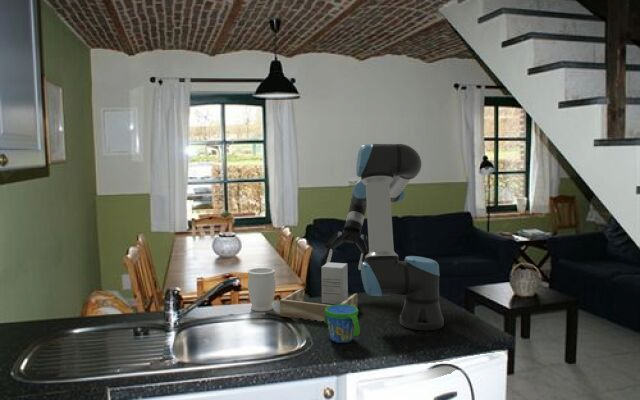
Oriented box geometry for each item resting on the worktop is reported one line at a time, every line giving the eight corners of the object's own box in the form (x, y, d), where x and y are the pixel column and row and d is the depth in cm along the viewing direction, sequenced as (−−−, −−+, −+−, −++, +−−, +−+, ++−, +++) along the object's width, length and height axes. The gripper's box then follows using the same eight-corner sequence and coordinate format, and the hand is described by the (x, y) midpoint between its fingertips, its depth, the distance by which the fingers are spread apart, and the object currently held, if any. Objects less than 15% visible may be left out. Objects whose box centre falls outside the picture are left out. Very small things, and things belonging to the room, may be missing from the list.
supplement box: (327, 297, 215) (327, 261, 213) (348, 298, 212) (348, 263, 211) (320, 303, 206) (320, 266, 205) (342, 305, 203) (342, 267, 202)
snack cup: (369, 344, 161) (369, 312, 160) (340, 350, 156) (340, 318, 155) (342, 329, 175) (342, 300, 174) (315, 335, 169) (315, 305, 169)
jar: (243, 311, 196) (242, 272, 195) (254, 303, 206) (254, 266, 205) (269, 313, 193) (269, 274, 192) (279, 306, 203) (279, 268, 201)
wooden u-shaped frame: (301, 302, 207) (301, 287, 207) (357, 309, 198) (357, 293, 197) (280, 316, 190) (279, 300, 190) (339, 323, 181) (339, 307, 180)
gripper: (382, 232, 226) (373, 274, 215) (327, 225, 233) (316, 266, 221) (381, 222, 221) (372, 265, 209) (325, 216, 227) (313, 257, 216)
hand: (343, 266), depth 215 cm, fingers open, 13 cm apart
